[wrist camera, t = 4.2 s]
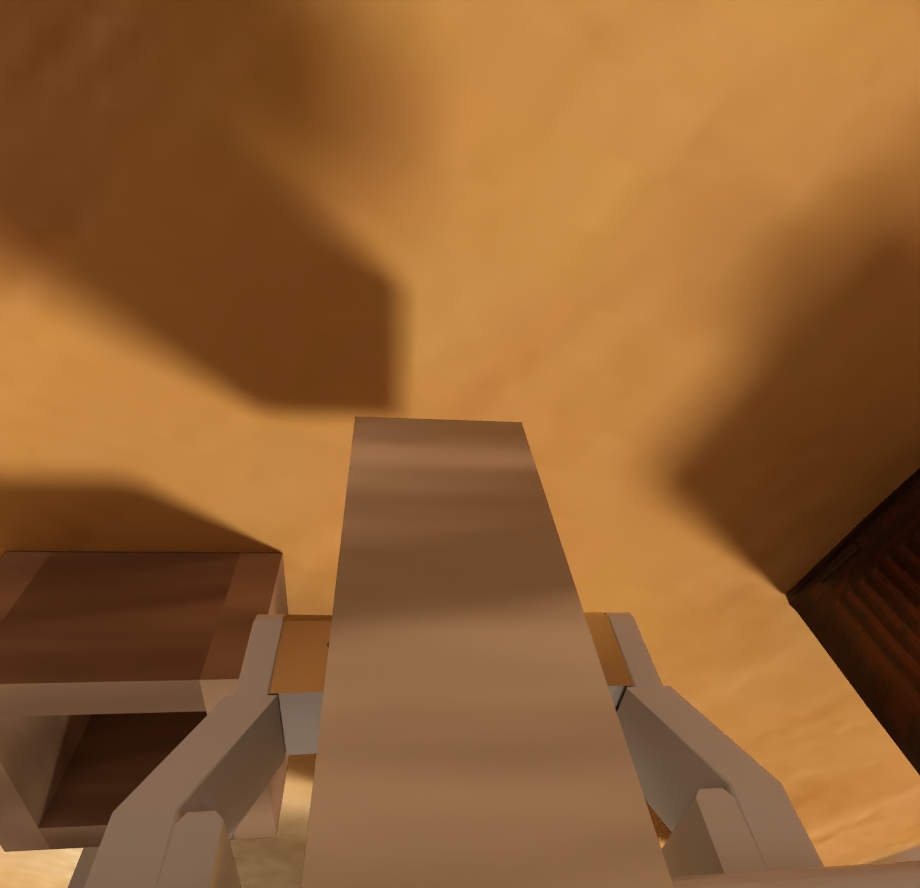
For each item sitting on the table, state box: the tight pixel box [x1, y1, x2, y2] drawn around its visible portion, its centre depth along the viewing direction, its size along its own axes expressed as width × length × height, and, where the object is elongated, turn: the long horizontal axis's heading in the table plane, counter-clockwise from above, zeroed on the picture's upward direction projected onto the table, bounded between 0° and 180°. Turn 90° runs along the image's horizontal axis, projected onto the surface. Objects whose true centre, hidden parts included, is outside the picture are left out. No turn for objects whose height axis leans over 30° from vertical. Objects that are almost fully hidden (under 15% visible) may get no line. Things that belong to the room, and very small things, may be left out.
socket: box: [0, 552, 289, 852], centre depth 20 cm, size 9×9×5 cm
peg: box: [301, 417, 674, 888], centre depth 10 cm, size 4×4×12 cm
